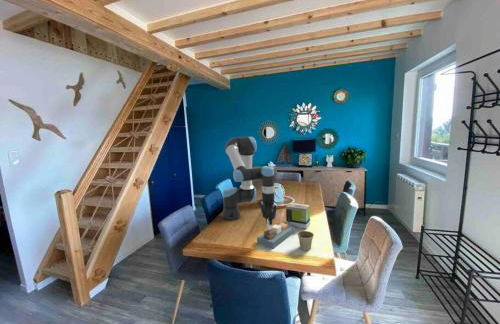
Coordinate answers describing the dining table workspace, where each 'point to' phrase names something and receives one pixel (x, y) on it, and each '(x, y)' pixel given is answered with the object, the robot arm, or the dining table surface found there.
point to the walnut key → (269, 234)
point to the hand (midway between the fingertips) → (269, 229)
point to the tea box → (298, 215)
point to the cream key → (276, 229)
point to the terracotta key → (283, 226)
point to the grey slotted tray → (275, 238)
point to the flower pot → (305, 239)
